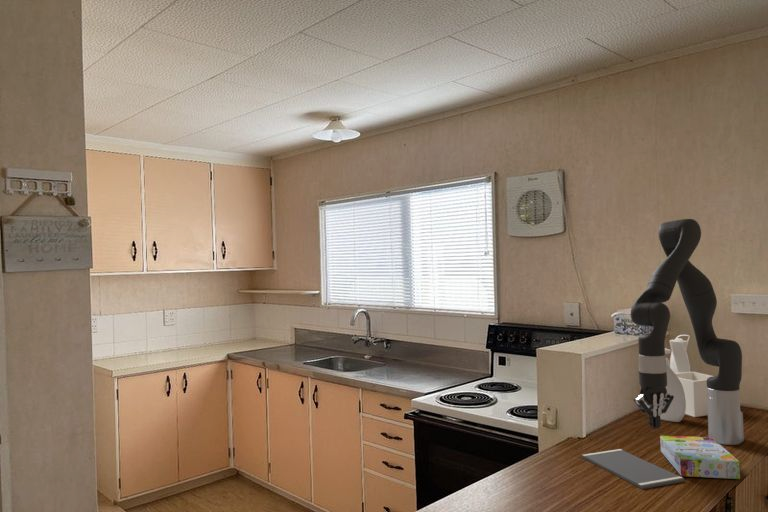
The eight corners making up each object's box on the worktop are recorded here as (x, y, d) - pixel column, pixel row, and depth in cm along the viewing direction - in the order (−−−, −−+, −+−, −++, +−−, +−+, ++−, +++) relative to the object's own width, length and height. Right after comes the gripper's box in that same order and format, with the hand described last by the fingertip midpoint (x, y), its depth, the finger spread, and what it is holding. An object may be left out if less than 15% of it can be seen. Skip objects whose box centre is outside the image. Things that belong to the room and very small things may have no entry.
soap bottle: (692, 421, 207) (689, 348, 208) (682, 426, 202) (679, 351, 202) (652, 414, 219) (650, 344, 219) (642, 418, 214) (639, 346, 214)
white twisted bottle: (687, 400, 237) (685, 333, 237) (695, 405, 229) (693, 336, 229) (668, 400, 238) (665, 333, 238) (675, 405, 230) (673, 336, 230)
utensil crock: (694, 406, 228) (693, 371, 228) (724, 415, 214) (723, 378, 215) (665, 410, 224) (664, 374, 224) (694, 419, 210) (693, 381, 211)
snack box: (680, 478, 157) (741, 480, 154) (679, 458, 157) (739, 459, 154) (660, 452, 178) (713, 453, 175) (659, 434, 178) (712, 435, 175)
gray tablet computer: (619, 451, 179) (619, 448, 179) (684, 481, 155) (684, 478, 155) (581, 457, 175) (581, 454, 175) (642, 489, 151) (642, 485, 151)
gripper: (661, 365, 173) (663, 422, 173) (625, 369, 170) (627, 427, 170) (680, 369, 166) (683, 428, 166) (643, 374, 162) (645, 434, 162)
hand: (655, 428), depth 168 cm, fingers closed
